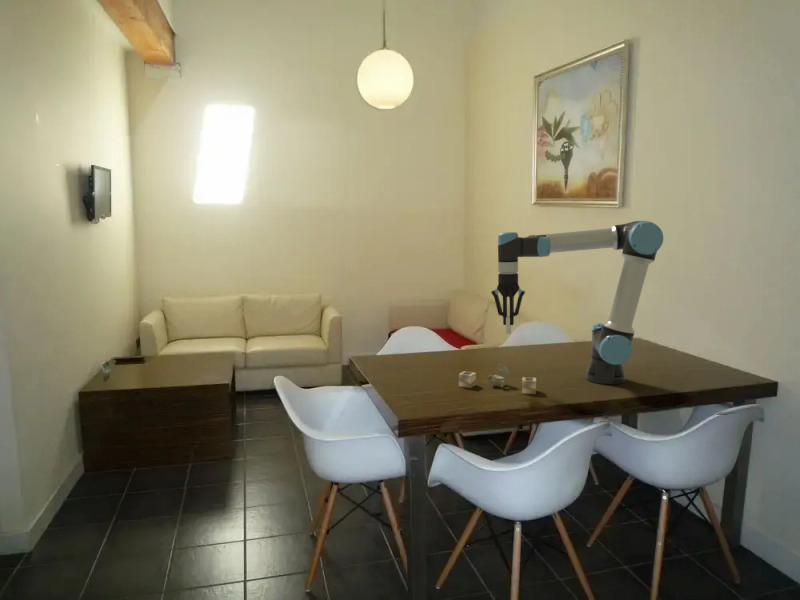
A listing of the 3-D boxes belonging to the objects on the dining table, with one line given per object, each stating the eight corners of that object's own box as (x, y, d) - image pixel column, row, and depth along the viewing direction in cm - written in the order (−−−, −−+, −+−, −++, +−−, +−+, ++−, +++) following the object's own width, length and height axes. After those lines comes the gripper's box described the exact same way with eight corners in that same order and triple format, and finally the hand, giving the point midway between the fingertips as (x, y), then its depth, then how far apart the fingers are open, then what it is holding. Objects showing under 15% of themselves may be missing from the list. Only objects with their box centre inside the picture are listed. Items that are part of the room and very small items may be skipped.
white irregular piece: (491, 386, 237) (489, 361, 241) (486, 390, 243) (484, 366, 247) (512, 387, 238) (510, 362, 242) (507, 391, 244) (505, 366, 248)
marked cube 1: (475, 385, 245) (475, 372, 244) (470, 388, 240) (470, 375, 240) (464, 383, 247) (464, 370, 246) (458, 386, 243) (458, 373, 242)
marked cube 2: (535, 390, 237) (535, 377, 236) (535, 394, 232) (536, 380, 232) (522, 389, 238) (522, 376, 237) (522, 393, 233) (522, 380, 232)
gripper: (526, 271, 240) (526, 332, 243) (493, 271, 244) (493, 330, 247) (523, 273, 233) (523, 335, 236) (489, 273, 237) (489, 334, 240)
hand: (508, 333), depth 242 cm, fingers closed
